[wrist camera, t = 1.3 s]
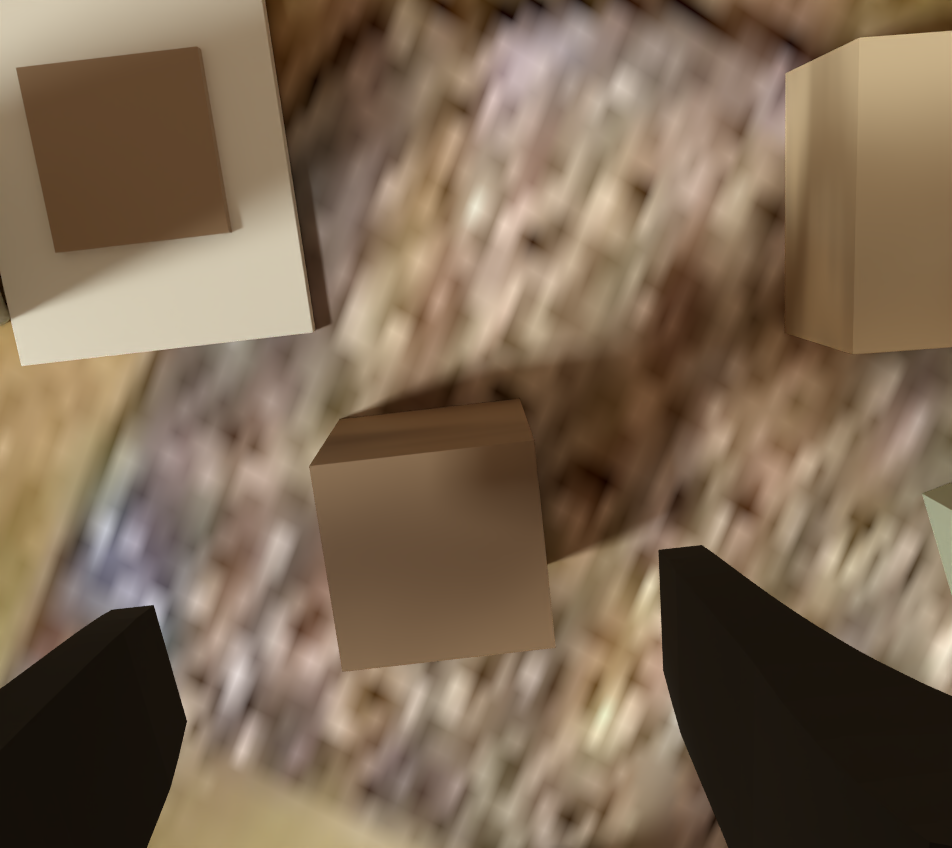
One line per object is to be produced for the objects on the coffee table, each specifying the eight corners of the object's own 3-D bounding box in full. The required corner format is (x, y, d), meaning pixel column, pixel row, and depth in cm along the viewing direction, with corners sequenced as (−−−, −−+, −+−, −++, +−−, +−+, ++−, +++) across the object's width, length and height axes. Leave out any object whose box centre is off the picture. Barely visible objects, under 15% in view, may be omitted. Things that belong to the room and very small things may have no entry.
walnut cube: (537, 567, 23) (555, 647, 18) (365, 586, 23) (342, 671, 18) (519, 397, 22) (534, 440, 17) (339, 418, 22) (309, 466, 17)
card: (315, 330, 21) (310, 333, 20) (29, 363, 21) (15, 368, 20) (253, -76, 19) (245, -88, 18) (-62, -39, 19) (-81, -49, 19)
